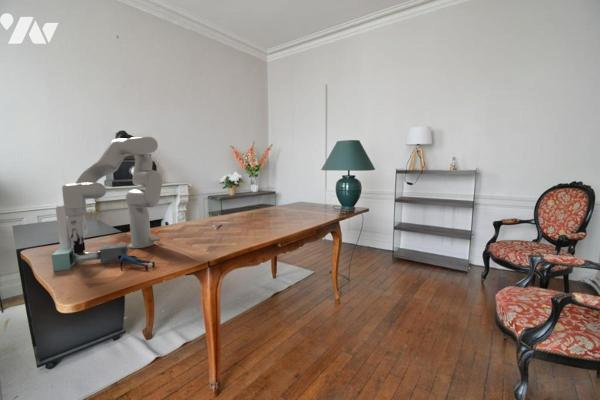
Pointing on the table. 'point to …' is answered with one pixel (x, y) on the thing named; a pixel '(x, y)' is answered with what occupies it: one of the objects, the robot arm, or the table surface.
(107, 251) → the sleeve
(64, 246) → the grey cylinder
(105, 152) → the robot arm
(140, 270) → the table surface
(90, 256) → the slip tube
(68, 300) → the table surface
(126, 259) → the person figurine
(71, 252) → the socket block
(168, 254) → the table surface
